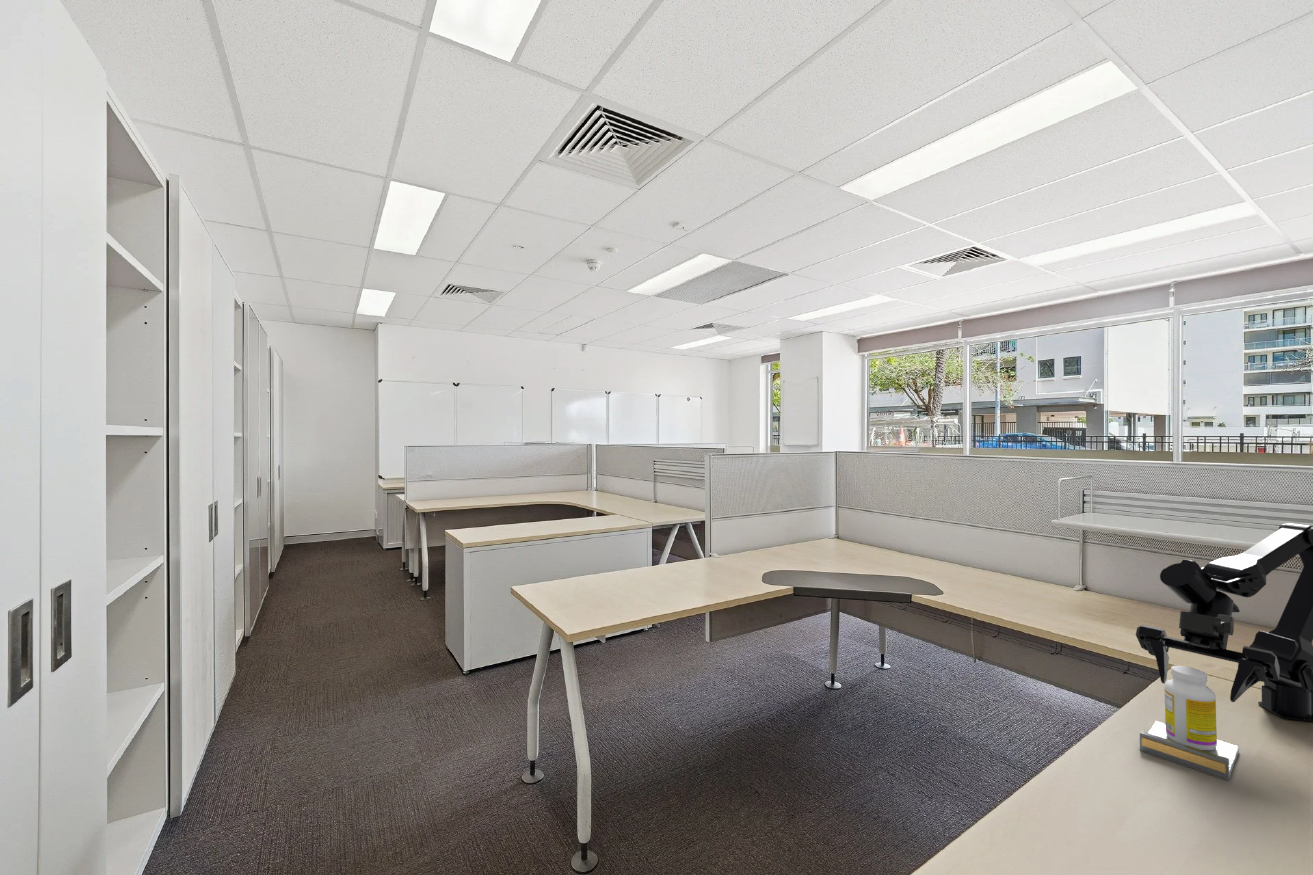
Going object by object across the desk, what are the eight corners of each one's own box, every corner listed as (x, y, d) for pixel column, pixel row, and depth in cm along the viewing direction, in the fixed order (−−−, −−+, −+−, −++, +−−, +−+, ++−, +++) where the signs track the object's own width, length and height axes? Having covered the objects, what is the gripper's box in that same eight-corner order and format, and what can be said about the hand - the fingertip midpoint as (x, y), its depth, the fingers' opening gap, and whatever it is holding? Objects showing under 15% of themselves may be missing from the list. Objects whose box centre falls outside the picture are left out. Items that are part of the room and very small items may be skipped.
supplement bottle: (1226, 747, 96) (1224, 675, 96) (1202, 755, 94) (1201, 681, 94) (1179, 728, 103) (1178, 660, 103) (1156, 735, 100) (1155, 666, 100)
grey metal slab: (1156, 726, 105) (1155, 709, 105) (1238, 751, 97) (1238, 733, 97) (1139, 751, 97) (1139, 733, 97) (1228, 781, 89) (1227, 761, 89)
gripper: (1137, 584, 111) (1120, 652, 104) (1275, 606, 95) (1265, 687, 89) (1150, 614, 115) (1134, 681, 109) (1283, 640, 100) (1274, 720, 93)
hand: (1196, 691), depth 100 cm, fingers open, 9 cm apart
